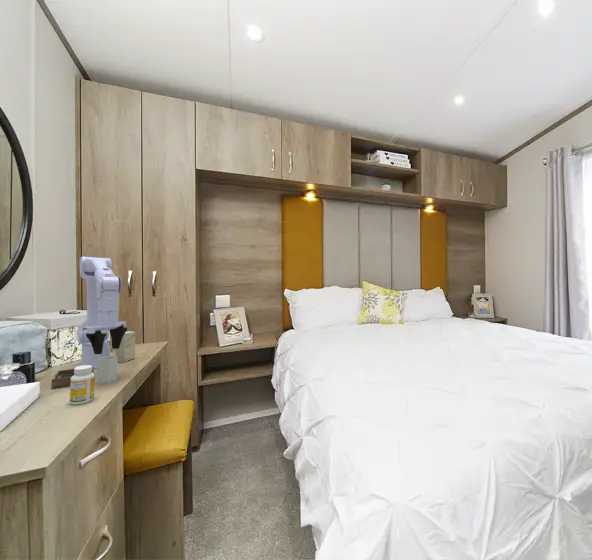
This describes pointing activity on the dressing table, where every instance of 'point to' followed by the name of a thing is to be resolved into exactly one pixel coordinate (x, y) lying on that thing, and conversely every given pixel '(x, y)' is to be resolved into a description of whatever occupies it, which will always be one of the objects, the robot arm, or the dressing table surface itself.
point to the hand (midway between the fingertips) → (107, 351)
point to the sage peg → (107, 369)
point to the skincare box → (126, 347)
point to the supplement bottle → (82, 385)
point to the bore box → (63, 378)
